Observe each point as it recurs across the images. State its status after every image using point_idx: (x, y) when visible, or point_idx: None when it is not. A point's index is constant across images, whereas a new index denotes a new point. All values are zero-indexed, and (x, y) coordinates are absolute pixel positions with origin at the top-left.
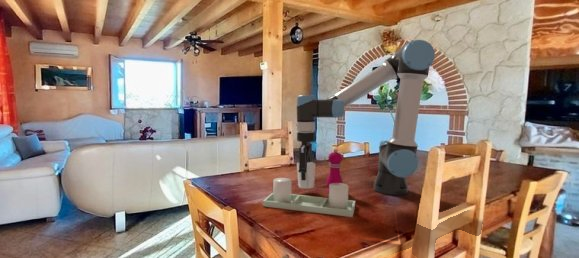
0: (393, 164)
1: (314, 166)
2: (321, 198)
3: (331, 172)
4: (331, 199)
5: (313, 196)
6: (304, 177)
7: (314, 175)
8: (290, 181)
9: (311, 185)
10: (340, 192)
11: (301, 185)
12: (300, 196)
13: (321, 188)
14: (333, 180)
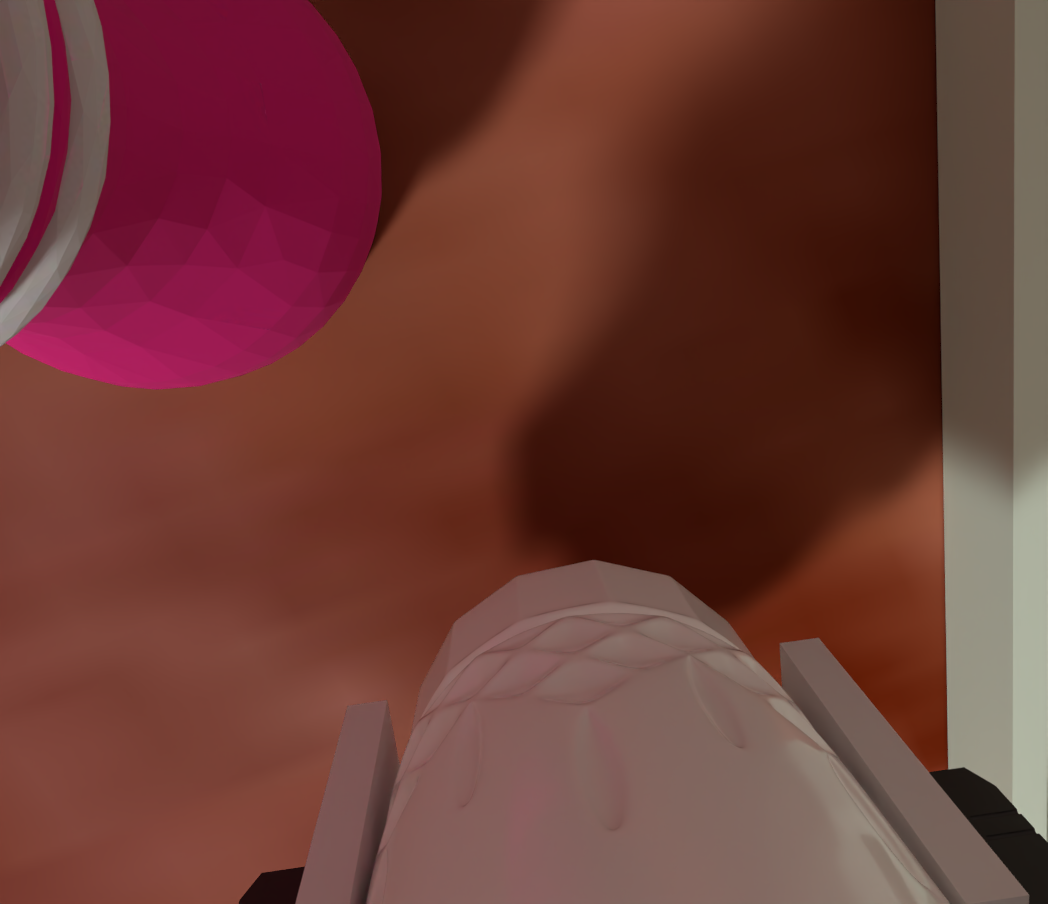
0: None
1: (759, 884)
2: (1045, 216)
3: (147, 222)
4: None
5: (1018, 391)
6: (1028, 825)
7: (571, 686)
8: None
9: (685, 599)
10: None
11: None
12: (1037, 614)
13: (26, 522)
14: (316, 127)
